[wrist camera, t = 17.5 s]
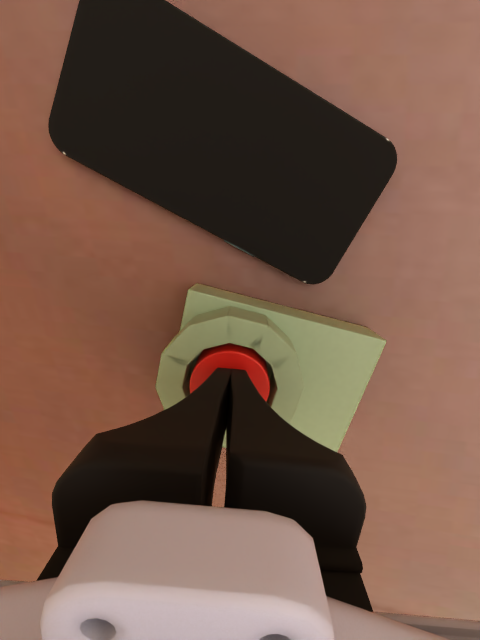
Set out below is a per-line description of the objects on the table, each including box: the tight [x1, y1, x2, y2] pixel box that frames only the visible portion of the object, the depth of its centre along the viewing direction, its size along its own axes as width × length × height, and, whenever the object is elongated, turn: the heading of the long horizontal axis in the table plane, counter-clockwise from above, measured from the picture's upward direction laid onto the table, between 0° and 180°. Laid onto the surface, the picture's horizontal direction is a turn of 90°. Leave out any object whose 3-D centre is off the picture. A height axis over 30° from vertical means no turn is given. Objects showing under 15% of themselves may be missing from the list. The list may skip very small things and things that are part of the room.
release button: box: [189, 343, 270, 401], centre depth 12 cm, size 4×4×2 cm
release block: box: [156, 283, 386, 452], centre depth 14 cm, size 10×7×4 cm
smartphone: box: [49, 0, 397, 284], centre depth 12 cm, size 7×1×15 cm
